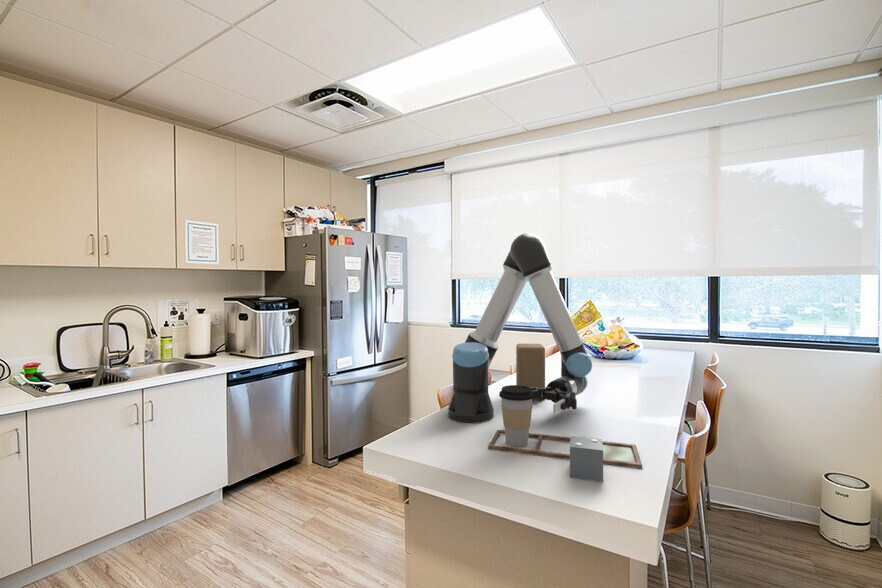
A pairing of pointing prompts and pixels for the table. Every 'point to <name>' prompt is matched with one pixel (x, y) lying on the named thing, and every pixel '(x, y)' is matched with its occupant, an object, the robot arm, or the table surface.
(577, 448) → the die
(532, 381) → the wooden block
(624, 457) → the wooden frame
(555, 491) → the table surface
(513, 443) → the coffee cup
